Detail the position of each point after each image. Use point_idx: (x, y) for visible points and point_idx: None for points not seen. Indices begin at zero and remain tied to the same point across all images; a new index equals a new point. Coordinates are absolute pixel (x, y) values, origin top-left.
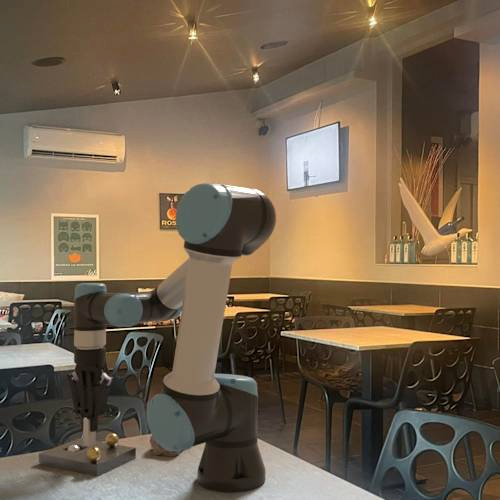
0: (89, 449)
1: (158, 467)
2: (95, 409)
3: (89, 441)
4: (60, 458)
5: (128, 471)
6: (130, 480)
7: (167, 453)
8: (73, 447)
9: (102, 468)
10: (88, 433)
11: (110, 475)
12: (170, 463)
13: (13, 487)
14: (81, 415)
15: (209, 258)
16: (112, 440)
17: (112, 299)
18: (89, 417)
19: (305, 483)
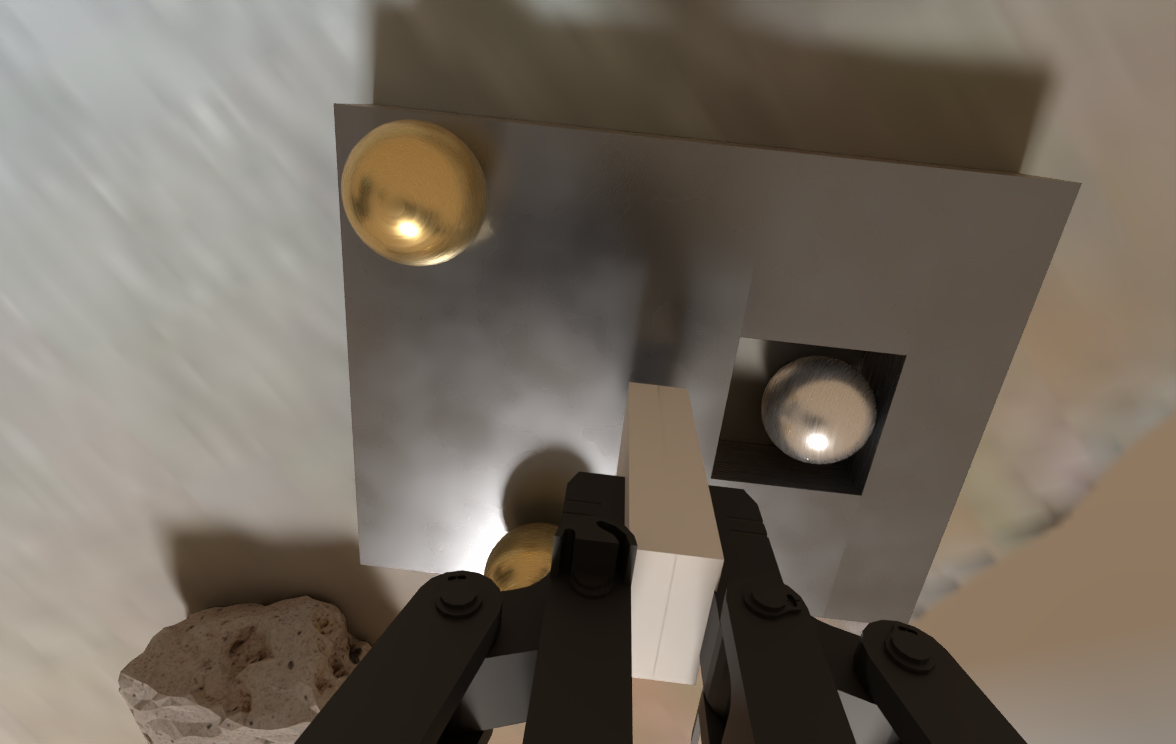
0: (423, 162)
1: (134, 421)
2: (454, 673)
3: (626, 417)
4: (790, 152)
5: (245, 287)
6: (91, 126)
7: (227, 611)
8: (813, 404)
9: None
10: (628, 445)
11: (297, 164)
12: (127, 503)
13: None
14: (774, 593)
15: None
16: (500, 549)
17: None
18: (576, 541)
19: None
